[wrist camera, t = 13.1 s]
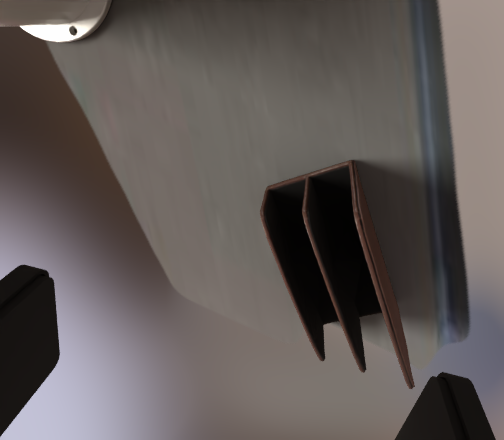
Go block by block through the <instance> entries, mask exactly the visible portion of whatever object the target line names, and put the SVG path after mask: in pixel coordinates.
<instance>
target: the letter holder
mask: <svg viewBox="0 0 504 440" xmlns="http://www.w3.org/2000/svg"><path fill="white" fill-rule="evenodd" d="M260 216H261V221H262V224H263V227H264V231H265V234H266V237H267V240H268V242H269V245H270V247H271V250H272V252H273V255H274V257H275V260H276V262H277V265H278V267H279V270H280V272H281V275H282V277H283V280H284V282H285V285H286V287H287V289H288V292H289V294H290V296H291V299H292V301H293V303H294V306H295V308H296V310H297V313H298V315H299V317H300V320H301V322H302V324H303V327H304V329H305V331H306V333H307V336H308V338H309V340H310V342H311V344H312V346H313V348H314V350H315V352H316V354H317V356H318V358H319V359H320V360H321V361H324V359H325V352H324V330H323V325H324V324H327V323H331V322H336V321H340V323H341V326H342V328H343V331H344V333H345V336H346V338H347V341H348V343H349V346H350V348H351V351H352V353H353V356H354V358H355V360H356V362H357V365H358V367H359V369H360V371H361V372H365V370H366V364H365V357H364V348H363V341H362V333H361V326H360V319H359V317H362V316H366V315H371V314H377V313H383V316H384V319H385V322H386V325H387V328H388V332H389V334H390V337H391V340H392V343H393V346H394V349H395V352H396V355H397V358H398V361H399V364H400V367H401V370H402V372H403V375H404V378H405V381H406V383H407V386H408V387H409V389H412V388H413V387H415V386H414V381H413V377H412V373H411V368H410V362H409V356H408V349H407V345H406V340H405V336H404V332H403V327H402V323H401V318H400V314H399V308H398V305H397V301H396V298H395V296H394V292H393V289H392V286H391V282H390V279H389V276H388V272H387V269H386V266H385V262H384V259H383V256H382V252H381V249H380V246H379V242H378V239H377V236H376V233H375V229H374V226H373V222H372V219H371V216H370V212H369V209H368V205H367V202H366V199H365V195H364V192H363V189H362V186H361V182H360V179H359V175H358V170H357V167H356V163H355V161H354V160H350V161H347V162H343V163H340V164H337V165H333V166H331V167H327V168H324V169H321V170H317V171H314V172H311V173H308V174H305V175H302V176H298V177H295V178H292V179H289V180H286V181H282V182H280V183H277V184H274V185H271V186H268V187H267V188H266V190H265V194H264V199H263V202H262V206H261V210H260Z"/></svg>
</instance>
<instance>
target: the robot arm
mask: <svg viewBox="0 0 504 440" xmlns="http://www.w3.org/2000/svg"><path fill="white" fill-rule="evenodd" d="M111 1H112V0H0V26H20V27H21V28H23V29H24V30H25V31H27V32H28V33H30V34H32V35H34V36H35V37H37V38H40V39H43V40H46V41H50V42H58V43H63V42H72V41H77V40H81V39H83V38H85V37H87V36H89V35H90V34H91V33H93V32H94V31H95V30H96V29H97V28H98V27H99V26H100V24H101V23H102V22H103V20H104V19H105V17H106V15H107V13H108V10H109V8H110V5H111ZM76 29H77V32H76ZM59 355H60V352H59V339H58V326H57V314H56V301H55V289H54V280H53V279H52V278H50V277H49V273H48V272H47V271H46V270H43V269H39V268H35V267H31V266H27V265H20V266H18V267H17V268H15V269H14V270H13V271H12V272H10V273H9V274H8V275H6V276H5V277H4V278H3V279H1V280H0V436H1V435H2V434H3V432H4V431H5V430H6V429H7V428H8V426H9V425H10V424H11V422H12V421H13V420H14V419H15V417H16V416H17V415H18V414H19V412H20V411H21V410H22V408H23V407H24V406H25V405H26V403H27V402H28V401H29V400H30V398H31V397H32V396H33V394H34V393H35V392H36V391H37V389H38V388H39V387H40V386H41V384H42V383H43V382H44V381H45V379H46V378H47V377H48V375H49V374H50V373H51V372H52V370H53V369H54V368H55V366H56V364H57V362H58V360H59ZM395 440H496V439H495V437H494V434H493V432H492V430H491V427H490V424H489V422H488V420H487V417H486V415H485V412H484V410H483V408H482V405H481V402H480V400H479V398H478V395H477V393H476V390H475V388H474V385H473V384H472V382H471V381H470V380H469V379H468V378H463V377H460V376H456V375H452V374H448V373H444V372H442V373H440V374H439V375H438V376H437V377H434V376H432V377H431V378H430V379H429V381H428V382H427V384H426V386H425V388H424V389H423V391H422V393H421V395H420V396H419V398H418V400H417V402H416V403H415V405H414V407H413V409H412V410H411V412H410V414H409V416H408V417H407V419H406V421H405V423H404V424H403V426H402V428H401V430H400V431H399V433H398V435H397V437H396V438H395Z"/></svg>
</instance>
